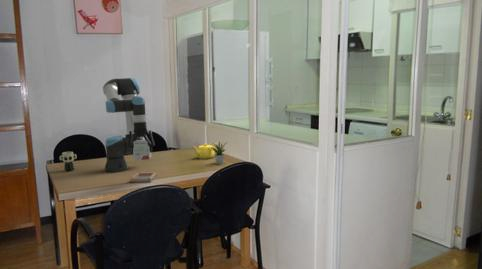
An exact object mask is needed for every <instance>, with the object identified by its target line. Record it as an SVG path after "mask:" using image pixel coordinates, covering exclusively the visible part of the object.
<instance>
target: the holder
mask: <svg viewBox="0 0 482 269" xmlns="http://www.w3.org/2000/svg"><path fill="white" fill-rule="evenodd" d="M157 177H158V174H157V172H152V171H151V172H137V173H136V174H134V175H133V176H132V177H131V178H130V180H129V183H130V182H135V183H152V182H153V181H154V180H155V179H156V178H157ZM135 183H134V184H135Z"/></svg>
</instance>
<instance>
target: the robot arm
mask: <svg viewBox="0 0 482 269" xmlns="http://www.w3.org/2000/svg"><path fill="white" fill-rule="evenodd" d="M102 90H103V91H102V92H103V94H104V95H105V96H106V101H105V111H106V112H107V113H109V114H110V113H112V114H114V113H124V114H125V122H126V134H124V135H125V137H123V135H114V136H111V137H108V138H106V140H105V153H106V162H105V166H104V171H105V172H108V173H118V172H123V171H126V170H128V167H129V166H128V164H127V161H126V159H125V155H128V154H133V159H135V155H134V143H133V142H134V141H137V140H146V141H148V145H149V147H148V154H149V159H151V158H152V153H153V147H154V146H156V143H155V140H154V137H153V130H152V129H147V122H146V121H147V117H146V116H147V113H146V100H145V97H144V96H139V95H140V93H141V90H140V85H139V82H138V80H137V79H136V78H134V77H133V78H132V77H129V78H128V77H127V78H125V77H124V78H112V79H110V80H108V81H106V83H105V84H104V85H103V87H102ZM119 96H120V97H121V99H120V97H119ZM147 134H148V135H147ZM148 136H149V138H148Z"/></svg>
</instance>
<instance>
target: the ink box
mask: <svg viewBox="0 0 482 269" xmlns="http://www.w3.org/2000/svg"><path fill="white" fill-rule="evenodd" d="M133 143H134V155H135V158H134V160H135V161H140V160H142V161H144V160H150V158H149V154H148V147H149V145H148V141H146V140H137V141H134V142H133ZM134 155H133V156H134Z"/></svg>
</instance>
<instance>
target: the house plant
mask: <svg viewBox="0 0 482 269" xmlns="http://www.w3.org/2000/svg"><path fill="white" fill-rule="evenodd" d="M228 143H229V142H228V141H227V142H225V143H224V142H222V143H221V142H220V141H218V144H215V142H214V143H213V142H212V144H213V146H214V145H215V146H216V149H214V148H212V147H213V146H212V147H210V148H211V149H213V150H214V151H215V156H214V160H215V164H217V165H220V164H224V160H225V158H224V157H225V154H224V153H223V152H225V151H226V150H228V149H226V148H225V146H226V145H227V144H228ZM211 151H212V150H211Z"/></svg>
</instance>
